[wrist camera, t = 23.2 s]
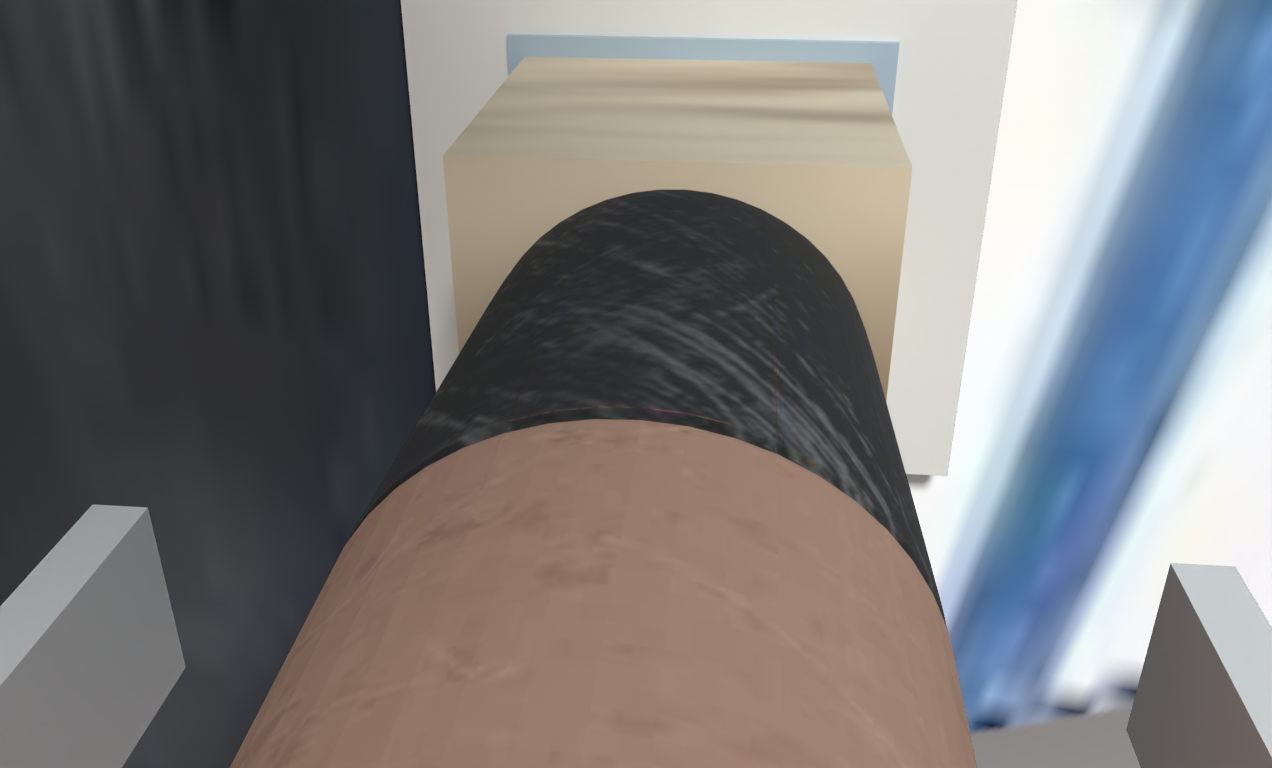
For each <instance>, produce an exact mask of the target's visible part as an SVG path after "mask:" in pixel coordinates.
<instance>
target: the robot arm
mask: <svg viewBox="0 0 1272 768" xmlns="http://www.w3.org/2000/svg"><path fill="white" fill-rule="evenodd" d="M185 668H186V667H185V663H184V658H183V654H182V650H181V646H180V641H179V637H178V633H177V629H176V624H175V620H174V616H173V612H172V607H171V603H170V599H169V595H168V591H167V586H166V582H165V578H164V574H163V569H162V565H161V561H160V557H159V552H158V548H157V544H156V540H155V535H154V531H153V527H152V523H151V519H150V514H149V510H148V507H129V506H111V505H92V506H91V507H90V508H89V509H88V510H87V511H86V512H85V513H84V515H83V516H82V517H81V518H80V519H79V520H78V521H77V522H76V523H75V524H74V526H73V527H72V528H71V529H70V530H69V531H68V532H67V533H66V534H65V536H64V537H63V538H62V539H61V540H60V541H59V542H58V543H57V544H56V545H55V547H54V548H53V549H52V550H51V551H50V552H49V553H48V554H47V555H46V556H45V558H44V559H43V560H42V561H41V562H40V563H39V564H38V565H37V566H36V567H35V569H34V570H33V571H32V572H31V573H30V574H29V575H28V576H27V577H26V578H25V580H24V581H23V582H22V583H21V584H20V585H19V586H18V587H17V588H16V590H15V591H14V592H13V593H12V594H11V595H10V596H9V597H8V598H7V599H6V601H5V602H4V603H3V604H2V605H1V606H0V768H122V766H123V765H124V763H125V762H126V760H127V759H128V757H129V755H130V754H131V752H132V751H133V749H134V748H135V746H136V744H137V743H138V741H139V740H140V738H141V737H142V735H143V733H144V732H145V730H146V729H147V727H148V726H149V724H150V723H151V721H152V719H153V718H154V716H155V715H156V713H157V712H158V710H159V708H160V707H161V705H162V704H163V702H164V701H165V699H166V697H167V696H168V694H169V693H170V691H171V690H172V688H173V687H174V685H175V683H176V682H177V680H178V679H179V677H180V676H181V674H182V672H183V671H184V669H185ZM1126 730H1127V732H1128V735H1129V738H1130V740H1131V743H1132V745H1133V748H1134V750H1135V753H1136V756H1137V758H1138V761H1139V764H1140V766H1141V768H1272V627H1271V626H1270V624H1269V622H1268V621H1267V619H1266V617H1265V616H1264V614H1263V612H1262V611H1261V609H1260V607H1259V606H1258V604H1257V602H1256V601H1255V599H1254V597H1253V596H1252V594H1251V592H1250V591H1249V589H1248V587H1247V586H1246V584H1245V582H1244V581H1243V579H1242V577H1241V576H1240V574H1239V572H1238V571H1237V569H1236V567H1231V566H1213V565H1194V564H1176V563H1171V564H1170V568H1169V572H1168V575H1167V579H1166V583H1165V587H1164V590H1163V594H1162V598H1161V602H1160V605H1159V609H1158V613H1157V617H1156V620H1155V624H1154V628H1153V632H1152V635H1151V639H1150V643H1149V647H1148V650H1147V654H1146V658H1145V662H1144V665H1143V669H1142V673H1141V677H1140V680H1139V684H1138V688H1137V692H1136V695H1135V699H1134V703H1133V707H1132V711H1131V714H1130V718H1129V722H1128V726H1127V729H1126Z"/></svg>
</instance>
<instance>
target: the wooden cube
mask: <svg viewBox="0 0 1272 768" xmlns="http://www.w3.org/2000/svg"><path fill="white" fill-rule="evenodd" d="M443 164H444V176H445V188H446V201H447V213H448V225H449V237H450V249H451V262H452V274H453V286H454V298H455V310H456V323H457V335H458V347H459V353H460V352H461V350H462V348H463V347H464V345H465V343H466V342H467V340H468V338H469V337H470V335H471V333H472V331H473V330H474V328H475V326H476V325H477V323H478V321H479V320H480V318H481V316H482V315H483V313H484V311H485V310H486V308H487V307H488V305H489V303H490V302H491V300H492V299H493V297H494V296H495V294H496V292H497V291H498V289H499V288H500V286H501V285H502V283H503V281H504V280H505V279H506V277H507V276H508V275H509V273H510V272H511V270H512V269H513V268H514V266H515V265H516V264H517V262H518V261H519V260H520V258H521V257H522V256H523V255H524V254H525V253H526V252H527V251H528V249H529V248H530V247H531V246H532V245H533V244H534V243H535V242H536V241H537V240H538V239H539V238H540V237H541V236H543V235H544V234H545V233H547V232H548V231H549V230H551V229H552V228H553V227H554V226H556V225H557V224H558V223H560V222H561V221H563V220H565V219H567V218H568V217H570V216H572V215H574V214H575V213H577V212H579V211H581V210H582V209H585V208H587V207H590V206H592V205H595V204H597V203H600V202H602V201H605V200H607V199H611V198H615V197H619V196H623V195H626V194H630V193H635V192H643V191H651V190H693V191H700V192H708V193H714V194H718V195H722V196H726V197H729V198H733V199H737V200H740V201H742V202H745V203H747V204H750V205H752V206H755V207H757V208H760V209H762V210H764V211H766V212H768V213H769V214H771V215H773V216H775V217H776V218H778V219H780V220H782V221H784V222H785V223H787V224H788V225H790V226H791V227H792V228H794V229H795V230H796V231H798V232H799V233H800V234H802V235H803V236H804V237H806V238H807V239H808V240H809V241H810V242H811V243H812V244H813V245H814V246H815V247H816V248H817V249H818V250H819V251H820V252H821V253H822V254H823V255H824V256H825V257H826V258H827V259H828V260H829V262H830V263H831V264H832V266H833V267H834V268H835V269H836V271H837V272H838V273H839V275H840V276H841V278H842V279H843V281H844V283H845V285H846V286H847V288H848V290H849V292H850V293H851V295H852V297H853V299H854V302H855V304H856V306H857V309H858V311H859V314H860V317H861V319H862V322H863V324H864V327H865V329H866V333H867V336H868V339H869V343H870V346H871V349H872V352H873V356H874V359H875V363H876V366H877V370H878V374H879V377H880V381H881V385H882V388H883V392H884V396H885V399H887V390H888V381H889V372H890V363H891V354H892V345H893V336H894V328H895V319H896V310H897V301H898V292H899V283H900V274H901V265H902V256H903V247H904V238H905V229H906V220H907V211H908V202H909V193H910V184H911V175H912V165H911V163H910V160H909V158H908V155H907V153H906V150H905V147H904V145H903V142H902V140H901V137H900V135H899V132H898V130H897V127H896V125H895V122H894V120H893V117H892V114H891V112H890V109H889V107H888V104H887V102H886V99H885V97H884V94H883V92H882V89H881V87H880V84H879V81H878V79H877V76H876V74H875V71H874V69H873V66H872V64H871V63H853V62H796V61H739V60H682V59H625V58H567V57H524V58H523V60H522V61H521V62H520V63H519V64H518V66H517V67H516V68H515V69H514V70H513V72H512V73H511V74H510V75H509V76H508V78H507V79H506V80H505V81H504V82H503V84H502V85H501V86H500V87H499V88H498V90H497V91H496V92H495V93H494V95H493V96H492V97H491V98H490V99H489V101H488V102H487V103H486V104H485V105H484V107H483V108H482V109H481V110H480V111H479V113H478V114H477V115H476V116H475V117H474V119H473V120H472V121H471V122H470V123H469V125H468V126H467V127H466V128H465V129H464V131H463V132H462V133H461V134H460V136H459V137H458V138H457V139H456V140H455V142H454V143H453V144H452V145H451V146H450V148H449V149H448V150H447V151H446V152H445V154H444V155H443Z"/></svg>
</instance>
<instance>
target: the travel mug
mask: <svg viewBox="0 0 1272 768" xmlns="http://www.w3.org/2000/svg"><path fill="white" fill-rule="evenodd" d="M230 768H977V765H976V760H975V755H974V751H973V745H972V740H971V736H970V731H969V726H968V721H967V716H966V711H965V707H964V702H963V697H962V692H961V687H960V683H959V678H958V673H957V668H956V663H955V659H954V654H953V650H952V646H951V641H950V637H949V632H948V629H947V626H946V622H945V617H944V613H943V608H942V605H941V601H940V597H939V594H938V590H937V586H936V583H935V579H934V575H933V572H932V568H931V564H930V561H929V557H928V553H927V550H926V546H925V542H924V539H923V535H922V531H921V528H920V524H919V520H918V517H917V513H916V509H915V506H914V502H913V498H912V495H911V491H910V487H909V484H908V480H907V476H906V473H905V469H904V465H903V462H902V458H901V454H900V451H899V447H898V443H897V440H896V436H895V432H894V429H893V425H892V421H891V418H890V414H889V410H888V407H887V403H886V399H885V396H884V392H883V388H882V385H881V381H880V377H879V374H878V370H877V366H876V363H875V359H874V356H873V352H872V349H871V346H870V343H869V339H868V336H867V333H866V329H865V327H864V324H863V322H862V319H861V317H860V314H859V311H858V309H857V306H856V304H855V302H854V299H853V297H852V295H851V293H850V292H849V290H848V288H847V286H846V285H845V283H844V281H843V279H842V278H841V276H840V275H839V273H838V272H837V271H836V269H835V268H834V267H833V266H832V264H831V263H830V262H829V260H828V259H827V258H826V257H825V256H824V255H823V254H822V253H821V252H820V251H819V250H818V249H817V248H816V247H815V246H814V245H813V244H812V243H811V242H810V241H809V240H808V239H807V238H806V237H804V236H803V235H802V234H800V233H799V232H798V231H796V230H795V229H794V228H792V227H791V226H790V225H788V224H787V223H785V222H784V221H782V220H780V219H778V218H776V217H775V216H773V215H771V214H769V213H768V212H766V211H764V210H762V209H760V208H757V207H755V206H752V205H750V204H747V203H745V202H742V201H740V200H737V199H733V198H729V197H726V196H722V195H718V194H714V193H708V192H700V191H693V190H651V191H643V192H635V193H630V194H626V195H623V196H619V197H615V198H611V199H607V200H605V201H602V202H600V203H597V204H595V205H592V206H590V207H587V208H585V209H582V210H581V211H579V212H577V213H575V214H574V215H572V216H570V217H568V218H567V219H565V220H563V221H561V222H560V223H558V224H557V225H556V226H554V227H553V228H552V229H551V230H549V231H548V232H547V233H545V234H544V235H543V236H541V237H540V238H539V239H538V240H537V241H536V242H535V243H534V244H533V245H532V246H531V247H530V248H529V249H528V251H527V252H526V253H525V254H524V255H523V256H522V257H521V258H520V260H519V261H518V262H517V264H516V265H515V266H514V268H513V269H512V270H511V272H510V273H509V275H508V276H507V277H506V279H505V280H504V281H503V283H502V285H501V286H500V288H499V289H498V291H497V292H496V294H495V296H494V297H493V299H492V300H491V302H490V303H489V305H488V307H487V308H486V310H485V311H484V313H483V315H482V316H481V318H480V320H479V321H478V323H477V325H476V326H475V328H474V330H473V331H472V333H471V335H470V337H469V338H468V340H467V342H466V343H465V345H464V347H463V348H462V350H461V352H460V353H459V355H458V357H457V358H456V360H455V362H454V363H453V365H452V367H451V368H450V370H449V372H448V373H447V375H446V377H445V378H444V380H443V382H442V383H441V385H440V387H439V388H438V390H437V392H436V393H435V395H434V397H433V398H432V400H431V402H430V403H429V405H428V407H427V408H426V410H425V412H424V413H423V415H422V417H421V418H420V420H419V422H418V423H417V425H416V427H415V428H414V430H413V432H412V433H411V435H410V437H409V438H408V440H407V442H406V443H405V445H404V447H403V448H402V450H401V452H400V453H399V455H398V457H397V458H396V460H395V462H394V463H393V465H392V467H391V468H390V470H389V472H388V473H387V475H386V477H385V478H384V480H383V482H382V483H381V485H380V487H379V488H378V490H377V492H376V493H375V495H374V497H373V498H372V500H371V502H370V503H369V505H368V507H367V508H366V510H365V512H364V513H363V515H362V517H361V518H360V520H359V522H358V523H357V525H356V527H355V529H354V531H353V533H352V535H351V537H350V539H349V540H348V542H347V543H346V545H345V546H344V548H343V550H342V552H341V554H340V556H339V558H338V560H337V561H336V563H335V565H334V567H333V569H332V571H331V573H330V575H329V577H328V579H327V581H326V583H325V585H324V586H323V588H322V590H321V592H320V594H319V596H318V598H317V600H316V602H315V604H314V606H313V608H312V610H311V612H310V614H309V615H308V617H307V619H306V621H305V623H304V625H303V627H302V629H301V631H300V633H299V635H298V637H297V639H296V641H295V642H294V644H293V646H292V648H291V650H290V652H289V654H288V656H287V658H286V660H285V662H284V664H283V666H282V668H281V670H280V671H279V673H278V675H277V677H276V679H275V681H274V683H273V685H272V687H271V689H270V691H269V693H268V695H267V697H266V699H265V700H264V702H263V704H262V706H261V708H260V710H259V712H258V714H257V716H256V718H255V720H254V722H253V724H252V726H251V728H250V729H249V731H248V733H247V735H246V737H245V739H244V741H243V743H242V745H241V747H240V749H239V751H238V753H237V755H236V756H235V758H234V760H233V762H232V764H231V766H230Z"/></svg>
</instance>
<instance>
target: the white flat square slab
mask: <svg viewBox="0 0 1272 768" xmlns="http://www.w3.org/2000/svg"><path fill="white" fill-rule="evenodd" d="M1016 7H1017V0H401V9H402V20H403V31H404V42H405V54H406V65H407V76H408V87H409V98H410V109H411V120H412V131H413V142H414V153H415V164H416V175H417V186H418V197H419V208H420V219H421V231H422V242H423V253H424V264H425V275H426V286H427V297H428V308H429V319H430V330H431V341H432V352H433V363H434V374H435V385H436V392H437V390H438V388H439V387H440V385H441V383H442V382H443V380H444V378H445V377H446V375H447V373H448V372H449V370H450V368H451V367H452V365H453V363H454V362H455V360H456V358H457V357H458V355H459V347H458V335H457V323H456V310H455V298H454V286H453V274H452V262H451V249H450V237H449V225H448V213H447V201H446V188H445V176H444V164H443V155H444V154H445V152H446V151H447V150H448V149H449V148H450V146H451V145H452V144H453V143H454V142H455V140H456V139H457V138H458V137H459V136H460V134H461V133H462V132H463V131H464V129H465V128H466V127H467V126H468V125H469V123H470V122H471V121H472V120H473V119H474V117H475V116H476V115H477V114H478V113H479V111H480V110H481V109H482V108H483V107H484V105H485V104H486V103H487V102H488V101H489V99H490V98H491V97H492V96H493V95H494V93H495V92H496V91H497V90H498V88H499V87H500V86H501V85H502V84H503V82H504V81H505V80H506V79H507V78H508V76H509V75H510V74H511V73H512V72H513V70H514V69H515V68H516V67H517V66H518V64H519V63H520V62H521V61H522V60H523V58H524V57H567V58H625V59H682V60H739V61H796V62H853V63H871V64H872V66H873V69H874V71H875V74H876V76H877V79H878V81H879V84H880V87H881V89H882V92H883V94H884V97H885V99H886V102H887V104H888V107H889V109H890V112H891V114H892V117H893V120H894V122H895V125H896V127H897V130H898V132H899V135H900V137H901V140H902V142H903V145H904V147H905V150H906V153H907V155H908V158H909V160H910V163H911V165H912V175H911V184H910V193H909V202H908V211H907V220H906V229H905V238H904V247H903V256H902V265H901V274H900V283H899V292H898V301H897V310H896V319H895V328H894V336H893V345H892V354H891V363H890V372H889V381H888V390H887V399H886V403H887V407H888V410H889V414H890V418H891V421H892V425H893V429H894V432H895V436H896V440H897V443H898V447H899V451H900V454H901V458H902V462H903V465H904V469H905V473H906V474H918V475H938V476H947V474H948V467H949V460H950V453H951V447H952V440H953V433H954V426H955V420H956V413H957V406H958V399H959V393H960V386H961V379H962V372H963V365H964V359H965V352H966V345H967V338H968V332H969V325H970V318H971V311H972V305H973V298H974V291H975V284H976V277H977V271H978V264H979V257H980V250H981V244H982V237H983V230H984V223H985V216H986V210H987V203H988V196H989V189H990V183H991V176H992V169H993V162H994V156H995V149H996V142H997V135H998V128H999V122H1000V115H1001V108H1002V101H1003V95H1004V88H1005V81H1006V74H1007V68H1008V61H1009V54H1010V47H1011V40H1012V34H1013V27H1014V20H1015V13H1016Z"/></svg>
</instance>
